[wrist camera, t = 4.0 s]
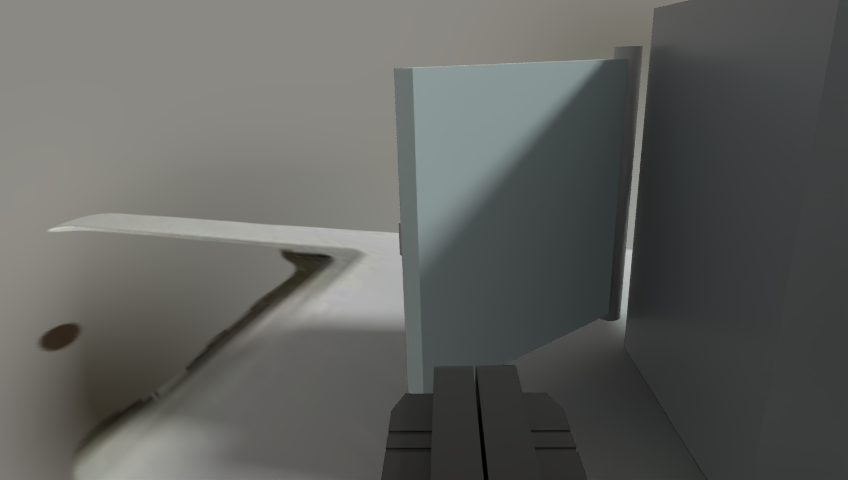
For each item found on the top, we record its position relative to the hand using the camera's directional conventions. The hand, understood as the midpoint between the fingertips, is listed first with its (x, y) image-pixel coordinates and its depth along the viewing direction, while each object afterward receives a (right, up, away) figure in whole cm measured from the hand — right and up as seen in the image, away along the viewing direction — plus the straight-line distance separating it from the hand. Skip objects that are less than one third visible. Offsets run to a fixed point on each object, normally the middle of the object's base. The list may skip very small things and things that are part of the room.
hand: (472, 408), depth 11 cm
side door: (+4, -2, +15) cm, 16 cm away
